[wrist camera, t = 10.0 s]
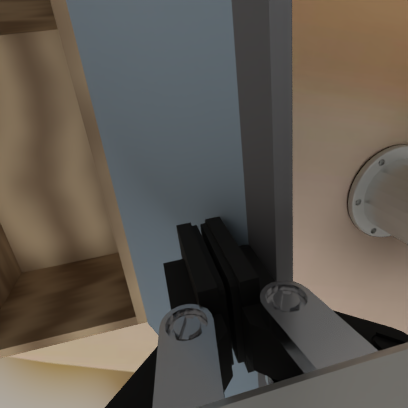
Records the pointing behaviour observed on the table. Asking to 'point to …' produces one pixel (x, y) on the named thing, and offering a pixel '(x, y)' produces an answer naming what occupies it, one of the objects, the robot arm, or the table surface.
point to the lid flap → (194, 128)
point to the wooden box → (55, 192)
